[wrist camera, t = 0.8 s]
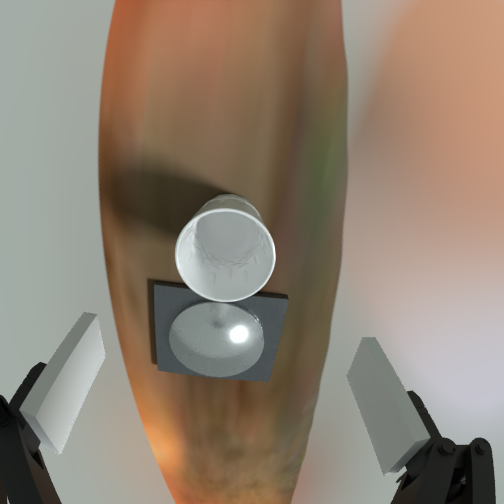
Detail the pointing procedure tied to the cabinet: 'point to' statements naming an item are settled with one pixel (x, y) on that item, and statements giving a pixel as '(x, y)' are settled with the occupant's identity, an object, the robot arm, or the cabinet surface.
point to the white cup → (225, 250)
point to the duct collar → (217, 333)
